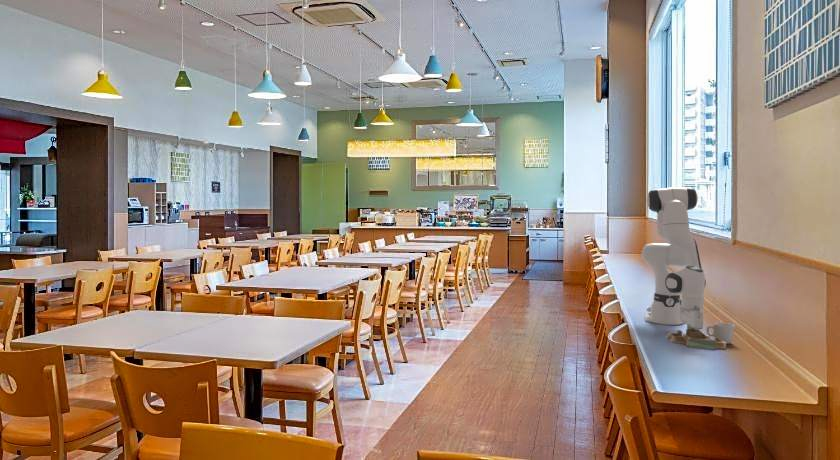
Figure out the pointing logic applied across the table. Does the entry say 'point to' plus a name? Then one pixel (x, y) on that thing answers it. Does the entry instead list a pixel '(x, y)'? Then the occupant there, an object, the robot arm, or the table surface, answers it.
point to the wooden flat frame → (697, 341)
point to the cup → (722, 331)
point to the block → (694, 333)
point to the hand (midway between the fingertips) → (690, 335)
